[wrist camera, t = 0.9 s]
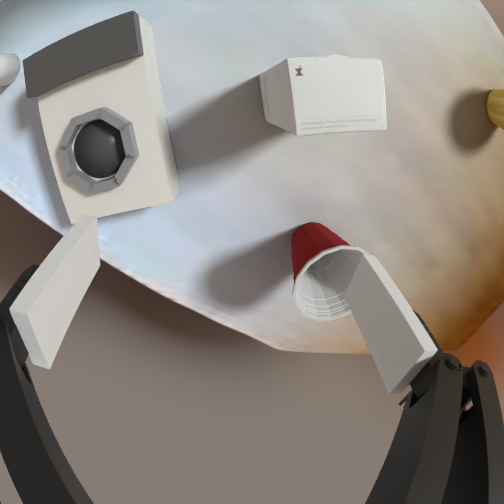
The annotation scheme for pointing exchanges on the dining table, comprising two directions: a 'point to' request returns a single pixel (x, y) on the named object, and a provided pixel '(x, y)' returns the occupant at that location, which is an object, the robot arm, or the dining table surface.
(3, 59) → the lens
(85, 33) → the camera body
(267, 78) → the skincare box
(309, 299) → the plastic cup
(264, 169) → the dining table surface
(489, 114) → the plant pot
